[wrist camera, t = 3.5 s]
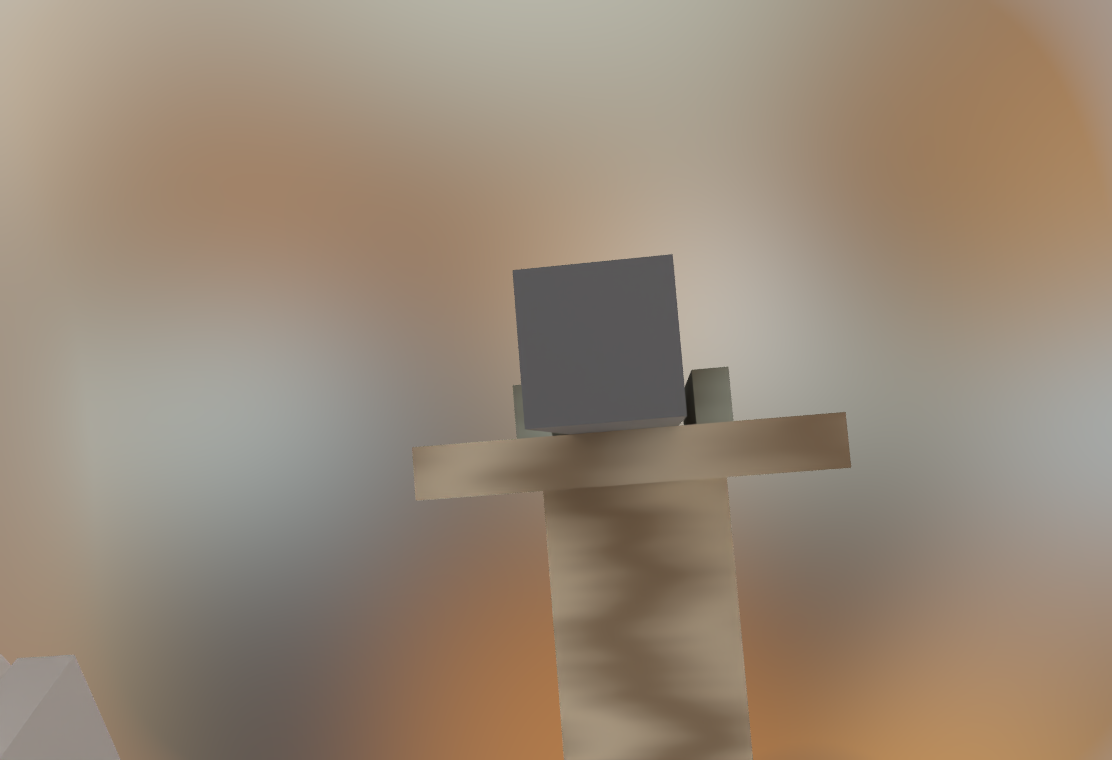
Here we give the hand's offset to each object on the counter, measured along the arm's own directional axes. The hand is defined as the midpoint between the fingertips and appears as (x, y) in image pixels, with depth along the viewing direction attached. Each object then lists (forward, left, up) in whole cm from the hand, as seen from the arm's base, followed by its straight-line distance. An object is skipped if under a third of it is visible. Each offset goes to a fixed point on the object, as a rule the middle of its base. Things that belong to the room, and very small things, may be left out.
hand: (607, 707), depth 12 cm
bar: (0, +18, +4) cm, 18 cm away
